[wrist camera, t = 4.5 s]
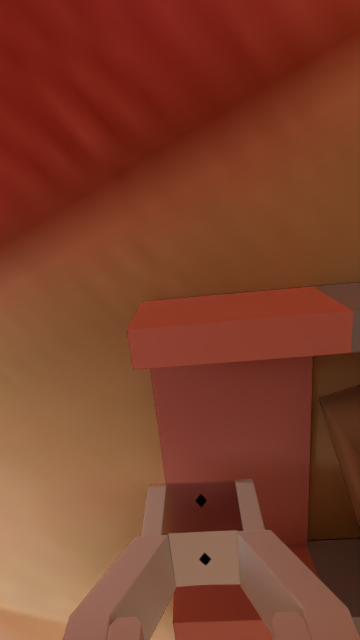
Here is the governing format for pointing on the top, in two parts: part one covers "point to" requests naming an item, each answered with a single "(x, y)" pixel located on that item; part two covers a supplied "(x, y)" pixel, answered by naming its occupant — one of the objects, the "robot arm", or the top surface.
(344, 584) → the trap box
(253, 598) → the robot arm
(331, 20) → the top surface
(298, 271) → the top surface
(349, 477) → the walnut block
